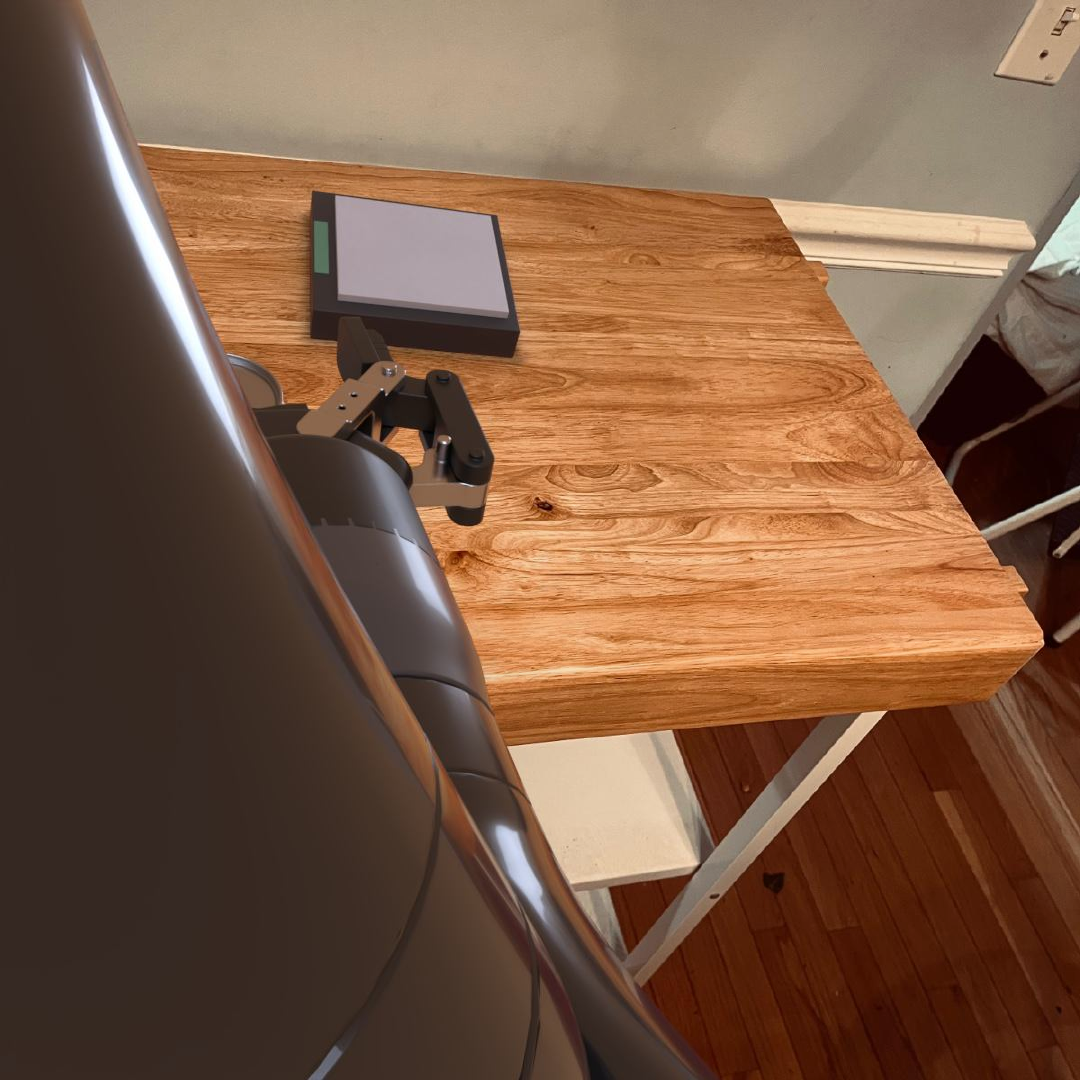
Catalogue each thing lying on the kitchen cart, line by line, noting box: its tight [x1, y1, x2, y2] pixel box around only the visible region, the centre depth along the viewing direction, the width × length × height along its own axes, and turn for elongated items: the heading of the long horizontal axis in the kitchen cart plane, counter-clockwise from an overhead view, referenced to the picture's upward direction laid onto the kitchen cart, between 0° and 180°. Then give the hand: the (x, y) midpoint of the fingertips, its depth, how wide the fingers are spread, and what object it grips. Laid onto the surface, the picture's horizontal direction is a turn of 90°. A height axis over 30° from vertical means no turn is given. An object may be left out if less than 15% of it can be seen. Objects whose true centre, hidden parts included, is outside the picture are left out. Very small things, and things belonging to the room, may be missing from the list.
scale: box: [309, 190, 521, 358], centre depth 77 cm, size 14×14×3 cm
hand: (231, 338), depth 39 cm, fingers open, 8 cm apart
